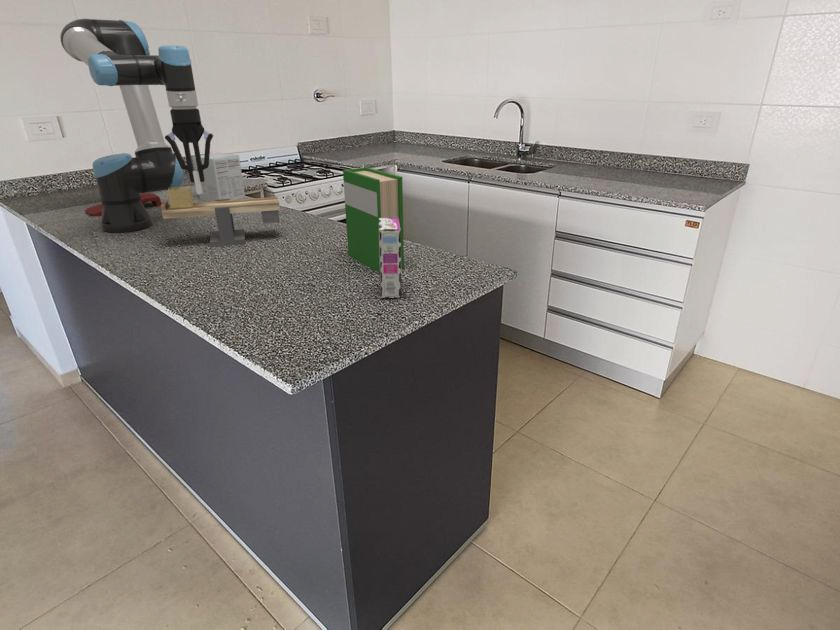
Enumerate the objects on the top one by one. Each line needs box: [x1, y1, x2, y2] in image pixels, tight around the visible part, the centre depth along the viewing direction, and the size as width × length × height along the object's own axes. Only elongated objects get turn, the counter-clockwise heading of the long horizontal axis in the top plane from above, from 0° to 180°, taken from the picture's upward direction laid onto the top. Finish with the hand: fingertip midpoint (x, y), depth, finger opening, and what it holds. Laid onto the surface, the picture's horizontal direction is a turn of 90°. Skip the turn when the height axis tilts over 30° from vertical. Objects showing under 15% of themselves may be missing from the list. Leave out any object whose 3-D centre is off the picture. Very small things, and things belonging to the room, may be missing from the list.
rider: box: [166, 185, 195, 210], centre depth 154 cm, size 5×6×6 cm
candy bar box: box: [379, 218, 402, 299], centre depth 121 cm, size 11×5×16 cm, turn 5°
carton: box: [85, 192, 163, 217], centre depth 200 cm, size 12×5×25 cm
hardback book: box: [342, 167, 405, 274], centre depth 138 cm, size 18×7×24 cm, turn 34°
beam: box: [160, 196, 281, 225], centre depth 159 cm, size 10×33×8 cm, turn 108°
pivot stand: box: [209, 199, 246, 248], centre depth 160 cm, size 12×10×12 cm
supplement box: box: [191, 152, 246, 202], centre depth 213 cm, size 13×13×18 cm
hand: (200, 193), depth 154 cm, fingers closed
